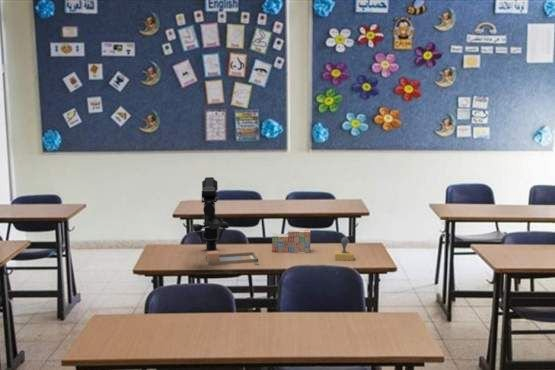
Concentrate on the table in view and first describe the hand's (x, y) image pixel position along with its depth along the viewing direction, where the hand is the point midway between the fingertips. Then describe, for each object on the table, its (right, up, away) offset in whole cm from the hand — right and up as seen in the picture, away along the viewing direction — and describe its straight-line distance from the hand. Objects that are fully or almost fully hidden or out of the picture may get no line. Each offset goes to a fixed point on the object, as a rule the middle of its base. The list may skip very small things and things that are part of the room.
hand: (210, 242), depth 323 cm
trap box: (+10, -11, +10) cm, 18 cm away
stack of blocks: (+42, -8, +31) cm, 53 cm away
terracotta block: (+1, -10, +10) cm, 14 cm away
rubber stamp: (+70, -10, +16) cm, 73 cm away
